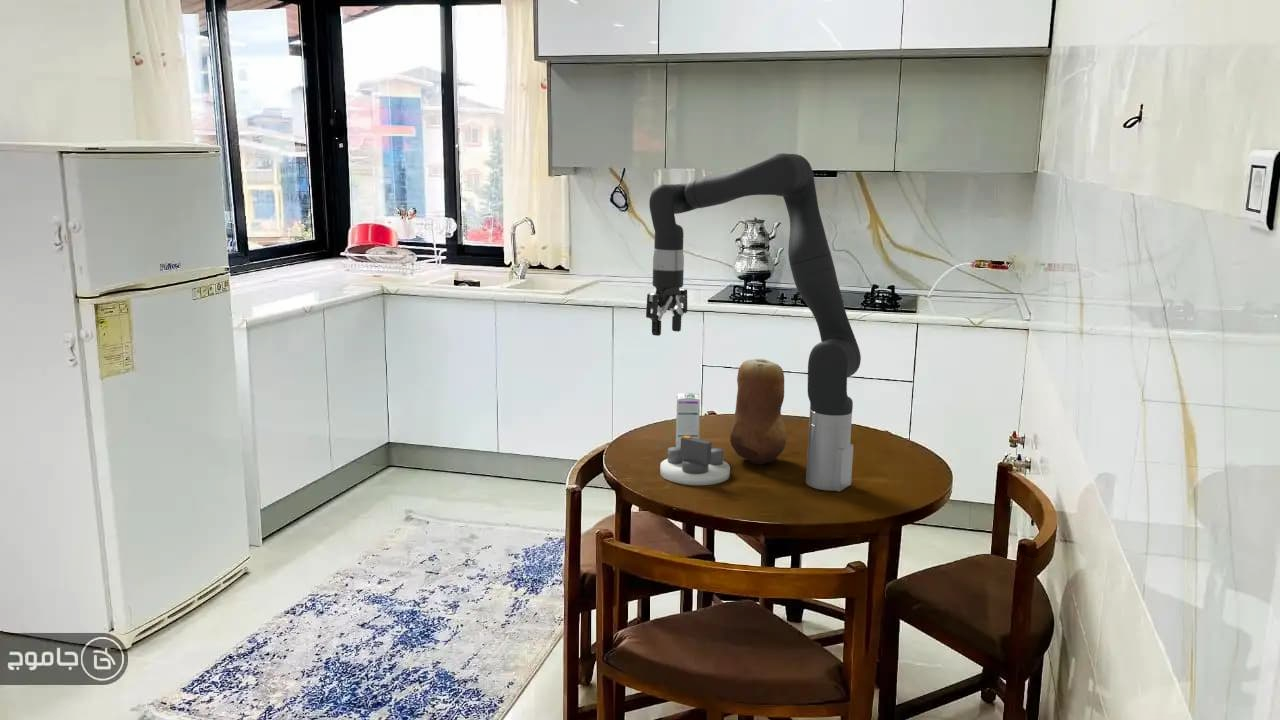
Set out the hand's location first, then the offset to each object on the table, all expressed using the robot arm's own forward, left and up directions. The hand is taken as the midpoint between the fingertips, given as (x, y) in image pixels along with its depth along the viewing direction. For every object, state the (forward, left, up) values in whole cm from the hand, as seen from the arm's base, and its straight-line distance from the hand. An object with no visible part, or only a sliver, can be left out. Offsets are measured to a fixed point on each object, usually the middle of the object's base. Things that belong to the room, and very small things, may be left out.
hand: (666, 333), depth 234 cm
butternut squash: (-24, -5, -30) cm, 38 cm away
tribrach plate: (-18, +13, -29) cm, 37 cm away
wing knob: (-20, +16, -27) cm, 37 cm away
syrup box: (-7, 0, -30) cm, 30 cm away
